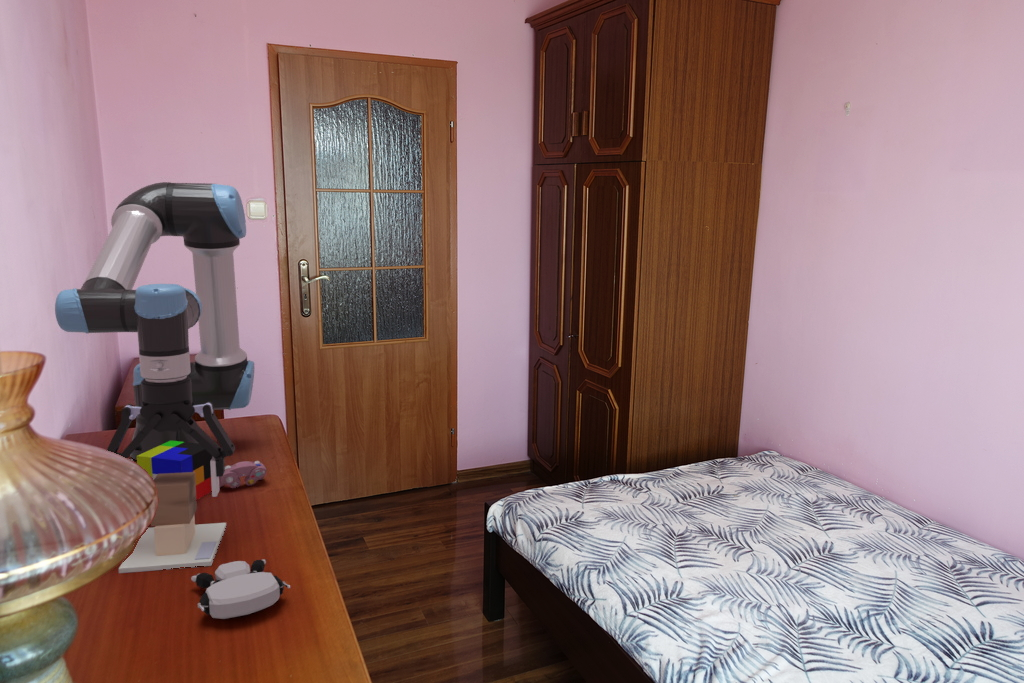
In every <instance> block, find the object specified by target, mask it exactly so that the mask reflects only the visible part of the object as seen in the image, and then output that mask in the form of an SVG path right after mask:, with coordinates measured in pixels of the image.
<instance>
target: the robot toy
mask: <svg viewBox="0 0 1024 683" xmlns="http://www.w3.org/2000/svg"><path fill="white" fill-rule="evenodd" d="M266 563H267V561H266V559H256V560H253V562H252V564H251V565H250V564H249V563H247V562H246V561H245V560H244V561H243V560H237V561H235V560H233V561H229V562H227V563H222V564H220V565H219V566H218V567H217V569H216V570H215V571H214V577H213V574H210V573H207V572H200V573H197V574H195V575H192V576H191V577H190V580H191V581H192V582H193V583H196V586H197V587H199V588H202V589H206V590H205V592H204V593H203V594H202V595H201V597H200V599H199V602H198V603H197V609H200V610H201V612H204V613H205V614H206V615H207V616H208V615H210V616H211V618H213V619H221V620H228V619H230V618H237V617H241V616H247V615H250V614H252V613H256V612H259V611H262V610H264V609H266V608H269V607H271V606H273V605H274V604H275V603H276V602H277V601H279V599H280V596H282V594H284V589H285V588H284V587H286V588H287V589H291V585H290V584H287V583H286V581H283V580H282V579H281V578H279V577H278V576H277V575H273V573H272V572H267V571H266V572H265V566H266Z"/></svg>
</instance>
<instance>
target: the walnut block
mask: <svg viewBox="0 0 1024 683" xmlns="http://www.w3.org/2000/svg"><path fill="white" fill-rule="evenodd" d="M153 481H154V482H155V485H156V488H157V490H158V497H159V503H158V508H157V511H156V515H155V517H154V519H153V521H152V523H151V522H150V526H151V527H155V526H161V525H176V524H190V522H191V520H192V518H193V516H195V514H196V513H197V512H196V511H197V510H198V506H197V504H198V503H197V501H198V500H197V501H196V482H195V472H184V473H165V474H158V475H157V476H156V477H155V479H154V480H153Z"/></svg>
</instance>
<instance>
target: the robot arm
mask: <svg viewBox="0 0 1024 683" xmlns="http://www.w3.org/2000/svg"><path fill="white" fill-rule="evenodd" d="M243 204H244V203H243V201H242V197H241V196H240V193H239V191H238V190H237V189H236V188H235V187H234V186H232V185H230V184H229V185H228V184H227V185H226V184H218V183H207V182H206V183H205V182H204V183H200V182H199V183H196V182H192V183H191V182H171V181H167V182H166V181H162V182H156V183H153V184H148V185H146V186H143V187H141V188H139V189H136V191H134V192H132V193H131V194H129V195H127V197H125V198H123V200H122V201H121V202H120V203H118V205H117V207H116V208H115V210H114V212H113V214H112V215H111V219H110V221H111V222H110V225H111V230H110V232H109V234H108V236H107V238H106V240H105V242H104V244H103V245H102V248H101V249H100V251H99V253H98V255H97V257H96V258H95V261H94V263H93V265H92V267H91V268H90V270H89V272H88V275H87V277H86V278H85V280H84V282H83V283H82V286H81V288H76V287H74V288H72V289H63V290H61V291H60V292H59V293H58V294H57V296H56V299H55V304H54V314H55V319H56V322H57V324H58V326H59V328H60V329H61V330H63V331H64V332H67V333H84V334H94V333H95V334H96V333H97V334H99V333H100V334H102V333H103V334H105V333H137V341H138V352H139V353H138V357H139V358H138V359H139V363H138V364H136V365H135V367H134V368H133V372H132V373H133V377H132V378H133V381H132V386H133V394H134V405H133V404H131V403H128V404H127V405H125V406H124V407H123V408H122V409H121V412H120V414H121V416H120V422H119V424H118V427H117V429H116V430H115V432H114V434H113V436H112V439H111V441H110V443H109V445H108V447H107V449H106V451H107V450H108V451H111V452H114V453H116V454H119V455H121V456H123V457H125V458H127V459H128V458H129V457H130V460H131V461H133V462H134V461H135V460H137V456H138V455H140V454H142V453H144V452H146V451H149V450H151V449H153V448H155V447H158V446H160V445H162V444H164V443H166V442H169V441H180V442H189V443H199V444H200V445H201V446H202V447H203V448H204V449H205V450H206V451H208V452H209V453H210V454H211V455H212V456H213V457H212V459H211V461H210V466H211V485H212V492H211V497H218V494H219V492H220V491H221V490H220V487H219V477H221V476H223V474H224V472H225V466H226V465H225V458H226V457H231V456H233V454H234V451H236V446H235V444H234V443H233V441H232V439H231V438H230V436H229V434H228V433H227V432H226V430H225V428H224V427H223V425H222V423H221V422H220V420H219V419H218V417H217V416H216V413H215V410H229V411H231V410H234V409H235V410H236V409H245V408H246V407H248V405H250V402H251V398H252V393H253V387H254V385H253V384H254V381H255V380H254V378H255V362H254V361H253V360H250V359H249V360H248V354H247V352H246V351H245V350H243V349H242V348H241V346H240V332H239V331H240V330H239V318H238V316H239V315H238V302H237V290H236V289H237V288H236V275H235V274H236V273H235V260H234V253H235V252H234V251H236V250H237V248H238V247H239V246H240V243H241V242H240V239H243V238H245V237H246V235H247V225H246V223H247V222H246V214H245V210H244V205H243ZM161 237H182V238H183V245H184V247H185V248H186V249H188V250H189V252H191V253H192V264H193V276H194V286H195V291H193V290H191V289H189V288H186V287H184V286H182V285H179V284H176V283H175V284H174V283H151V284H143V285H139V286H138V287H137V288H136V289H133V288H134V287H135V286H134V285H135V283H136V282H137V279H138V277H139V274H140V272H141V270H142V267H143V265H144V263H145V260H146V258H147V256H148V253H149V251H150V248H151V246H152V245H153V244H155V243H156V242H158V241H159V239H160V238H161ZM197 323H198V330H199V331H198V333H199V341H200V342H199V343H200V351H199V352H198V353H197V354H196V355H195V356H194V362H193V361H191V356H190V355H191V354H190V342H189V329H191V328H193V327H195V326H196V324H197ZM195 413H197V414H199V416H200V417H201V418H204V421H205V423H206V424H207V426H208V428H209V430H210V432H212V434H213V436H214V437H215V440H217V442H216V441H215V440H214V439H213V438H212V437H211V436H210V435H209V434H207V432H206V431H205V430H203V429H202V428H201V427H200V426H199V425H198V422H197V421H195V419H194V418H193V416H194V415H195ZM133 420H135V422H136V424H135V429H134V431H133V436H132V437H131V441H130V443H129V444H128V445H127V446H126V447H125V449H124V450H123V451H122V452H121V453H120V452H118V451H119V449H120V446H121V444H122V442H123V440H124V439H125V435H126V434H127V432H128V430H129V428H130V426H131V423H132V421H133ZM131 457H132V458H133V459H135V460H133V459H132V458H131Z"/></svg>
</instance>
